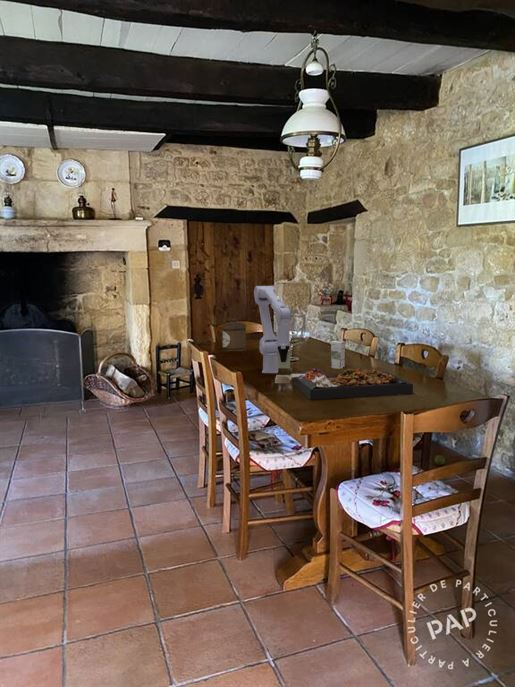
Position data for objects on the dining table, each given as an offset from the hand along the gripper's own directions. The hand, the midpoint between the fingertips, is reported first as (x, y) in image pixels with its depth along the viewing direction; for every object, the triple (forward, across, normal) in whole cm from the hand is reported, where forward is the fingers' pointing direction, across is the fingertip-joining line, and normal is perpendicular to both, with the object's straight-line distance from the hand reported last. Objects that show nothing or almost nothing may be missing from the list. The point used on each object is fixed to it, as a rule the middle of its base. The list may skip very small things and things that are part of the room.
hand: (283, 361), depth 238 cm
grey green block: (+3, 0, 0) cm, 3 cm away
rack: (+8, 0, 0) cm, 9 cm away
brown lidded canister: (+9, -72, -32) cm, 80 cm away
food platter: (+9, +18, +30) cm, 36 cm away
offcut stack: (+9, +8, 0) cm, 11 cm away
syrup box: (+9, -27, +28) cm, 40 cm away
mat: (+8, -6, +8) cm, 13 cm away
